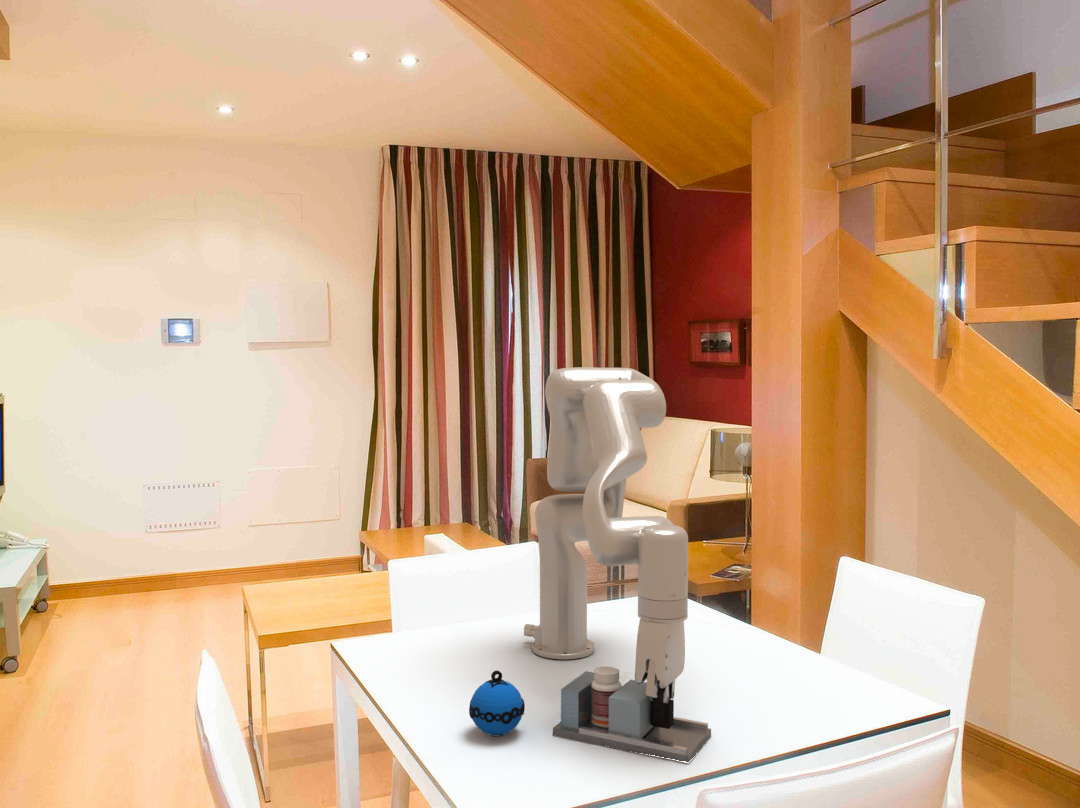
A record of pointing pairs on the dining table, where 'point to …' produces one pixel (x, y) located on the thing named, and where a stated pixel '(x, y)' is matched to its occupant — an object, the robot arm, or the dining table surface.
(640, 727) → the plate
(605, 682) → the pill bottle
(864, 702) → the dining table surface
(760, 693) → the dining table surface
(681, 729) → the vise base
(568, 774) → the dining table surface
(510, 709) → the ornament
